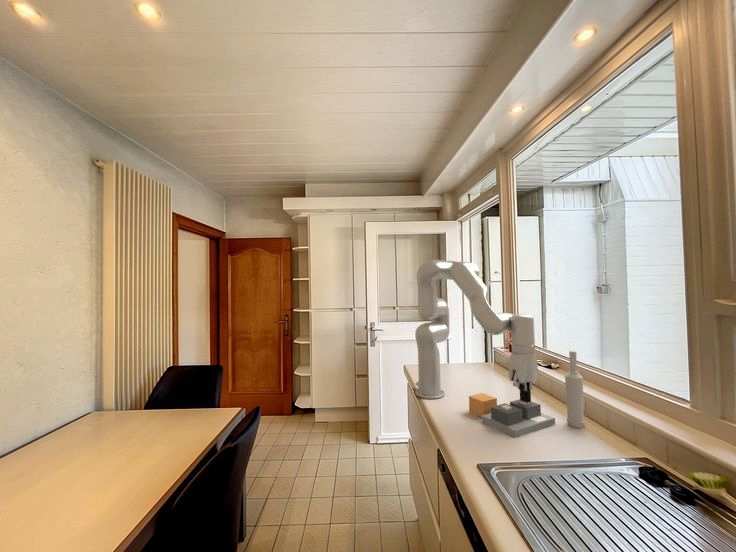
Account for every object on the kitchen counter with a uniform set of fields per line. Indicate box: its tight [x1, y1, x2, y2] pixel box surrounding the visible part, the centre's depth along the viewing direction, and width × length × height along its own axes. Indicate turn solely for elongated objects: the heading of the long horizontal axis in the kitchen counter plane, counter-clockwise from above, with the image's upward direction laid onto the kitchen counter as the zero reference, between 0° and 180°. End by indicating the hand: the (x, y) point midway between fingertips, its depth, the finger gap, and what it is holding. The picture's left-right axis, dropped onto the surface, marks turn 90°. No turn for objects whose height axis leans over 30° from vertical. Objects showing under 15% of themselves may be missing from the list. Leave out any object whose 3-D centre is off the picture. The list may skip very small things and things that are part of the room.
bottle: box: [564, 350, 586, 429], centre depth 111 cm, size 5×5×25 cm
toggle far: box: [520, 400, 530, 405], centre depth 116 cm, size 2×2×4 cm
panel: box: [481, 398, 556, 438], centre depth 114 cm, size 14×20×6 cm
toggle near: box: [501, 404, 512, 411], centre depth 112 cm, size 2×2×4 cm
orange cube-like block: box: [468, 392, 498, 419], centre depth 123 cm, size 7×7×6 cm
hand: (525, 401), depth 116 cm, fingers closed
